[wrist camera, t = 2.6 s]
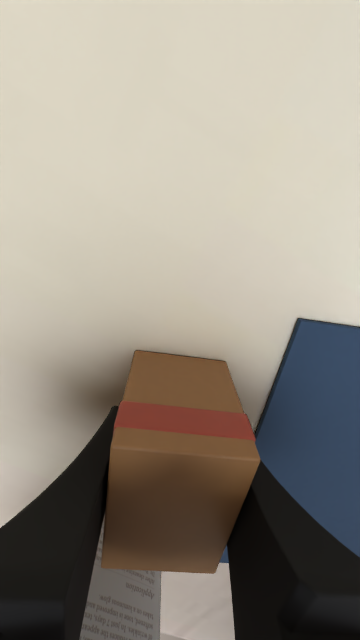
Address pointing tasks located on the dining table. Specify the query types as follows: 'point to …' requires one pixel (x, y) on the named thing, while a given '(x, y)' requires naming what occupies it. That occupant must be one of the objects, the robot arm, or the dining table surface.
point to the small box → (122, 603)
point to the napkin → (317, 427)
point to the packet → (176, 466)
